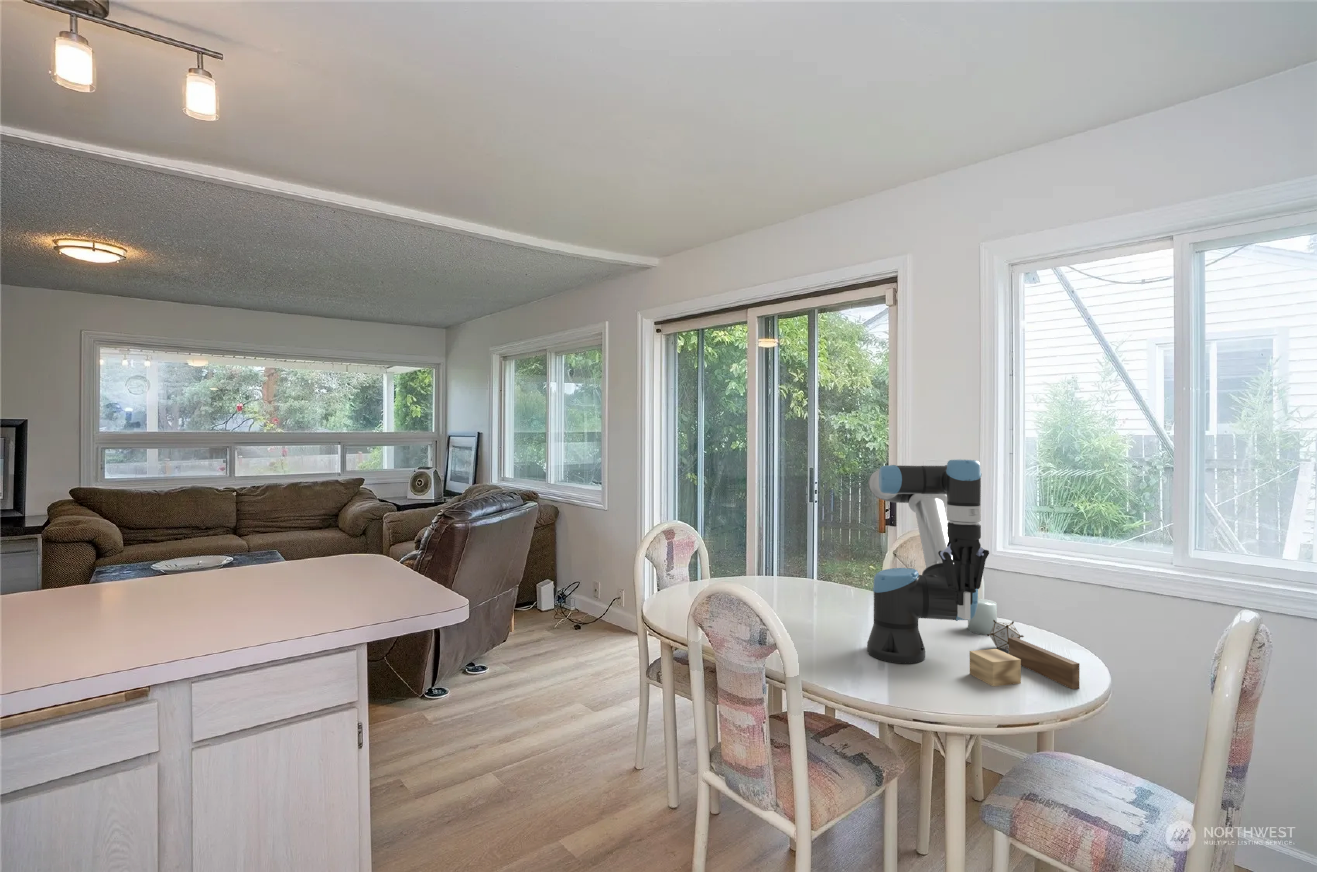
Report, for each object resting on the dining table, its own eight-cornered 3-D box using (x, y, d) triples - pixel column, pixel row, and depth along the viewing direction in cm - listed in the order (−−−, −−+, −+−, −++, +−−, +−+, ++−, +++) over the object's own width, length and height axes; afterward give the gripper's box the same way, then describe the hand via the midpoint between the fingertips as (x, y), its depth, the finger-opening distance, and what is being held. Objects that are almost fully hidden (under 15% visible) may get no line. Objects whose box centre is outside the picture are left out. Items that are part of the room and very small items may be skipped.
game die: (1008, 661, 180) (1025, 631, 181) (1015, 660, 172) (1033, 629, 173) (977, 641, 183) (994, 612, 185) (983, 639, 176) (1001, 609, 177)
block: (992, 686, 153) (992, 662, 153) (969, 674, 161) (969, 651, 161) (1020, 683, 155) (1020, 659, 155) (996, 671, 163) (996, 648, 163)
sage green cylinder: (980, 635, 191) (980, 606, 190) (962, 627, 198) (962, 599, 198) (1002, 633, 192) (1002, 604, 192) (983, 626, 200) (983, 597, 200)
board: (1072, 689, 151) (1072, 664, 151) (1008, 659, 170) (1008, 637, 170) (1079, 688, 151) (1079, 663, 151) (1015, 659, 171) (1014, 637, 171)
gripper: (951, 525, 150) (951, 624, 150) (997, 523, 153) (997, 620, 153) (930, 521, 158) (930, 615, 158) (975, 519, 161) (975, 612, 161)
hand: (963, 617), depth 155 cm, fingers closed
